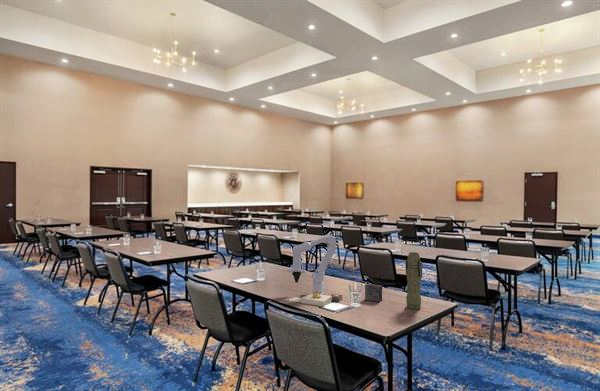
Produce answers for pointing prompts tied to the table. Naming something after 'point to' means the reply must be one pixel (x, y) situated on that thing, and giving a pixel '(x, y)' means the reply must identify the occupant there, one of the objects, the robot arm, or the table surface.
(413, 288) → the thermos
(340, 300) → the button console
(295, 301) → the billet mat
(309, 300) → the block
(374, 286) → the small box
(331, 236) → the robot arm
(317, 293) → the billet
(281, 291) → the table surface
